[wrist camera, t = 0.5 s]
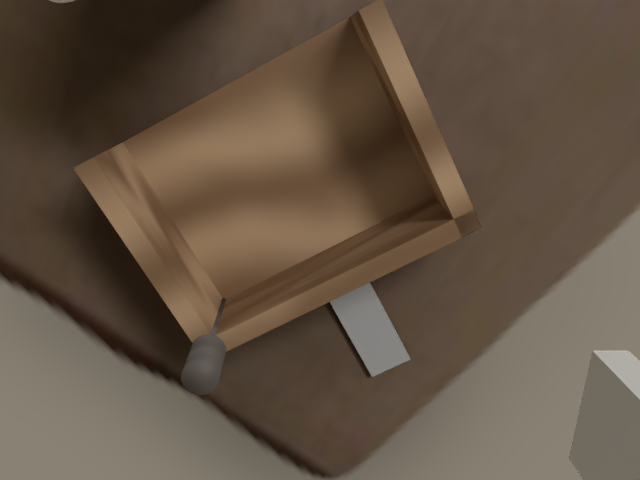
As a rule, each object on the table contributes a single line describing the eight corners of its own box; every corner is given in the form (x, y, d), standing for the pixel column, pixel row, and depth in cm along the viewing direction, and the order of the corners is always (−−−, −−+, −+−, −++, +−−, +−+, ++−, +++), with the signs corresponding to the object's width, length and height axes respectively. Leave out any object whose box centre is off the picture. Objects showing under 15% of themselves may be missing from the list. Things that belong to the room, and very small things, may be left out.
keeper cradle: (103, 152, 34) (40, 185, 25) (367, 7, 31) (391, -9, 23) (216, 325, 38) (193, 400, 29) (457, 206, 35) (503, 252, 27)
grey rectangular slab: (326, 295, 37) (327, 297, 37) (366, 276, 37) (367, 278, 36) (371, 373, 39) (372, 377, 39) (409, 356, 39) (410, 359, 39)
